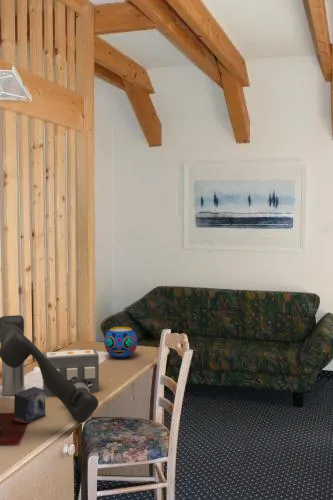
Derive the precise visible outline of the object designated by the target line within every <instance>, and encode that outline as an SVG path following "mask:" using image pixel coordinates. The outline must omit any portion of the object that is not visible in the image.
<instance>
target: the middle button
mask: <svg viewBox="0 0 333 500" xmlns="http://www.w3.org/2000/svg"><path fill="white" fill-rule="evenodd" d="M72 377H76V378H77V367H71V368H66V378H67V379H68V380H71V378H72Z"/></svg>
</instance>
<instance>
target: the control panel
mask: <svg viewBox="0 0 333 500" xmlns="http://www.w3.org/2000/svg"><path fill="white" fill-rule="evenodd" d="M42 354H43V355H44V356H45V357H46V358H47V359H48V360H49V361H50V362H51V364H52V365H53V366H54V367H55V368H56V369H57V368H59V372H60V373H61V374H62V375H63V376H64V377H66V368H71V367H77V378H78V379H80V380H81V379H85V378H84V367H86V366H95V378H88V379H85V380H89V381H92V388H89V387H88V389H89V392H90V393H98V392H99V391H100V378H99V377H100V376H99V374H100V373H99V372H100V371H99V370H100V368H99V367H100V363H99V362H100V361H99V360H100V359H99V358H100V355H99V354H98V351H97V350H96V349H83V350H65V351H64V350H63V351H50V352H42ZM42 389H44V390H45V397H51V396H52V397H53V396H55V395H54V394H53V393H51V392H50V391H49V390H48V389H47V387H46V386H45V384H44V381H43V380H42Z"/></svg>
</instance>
